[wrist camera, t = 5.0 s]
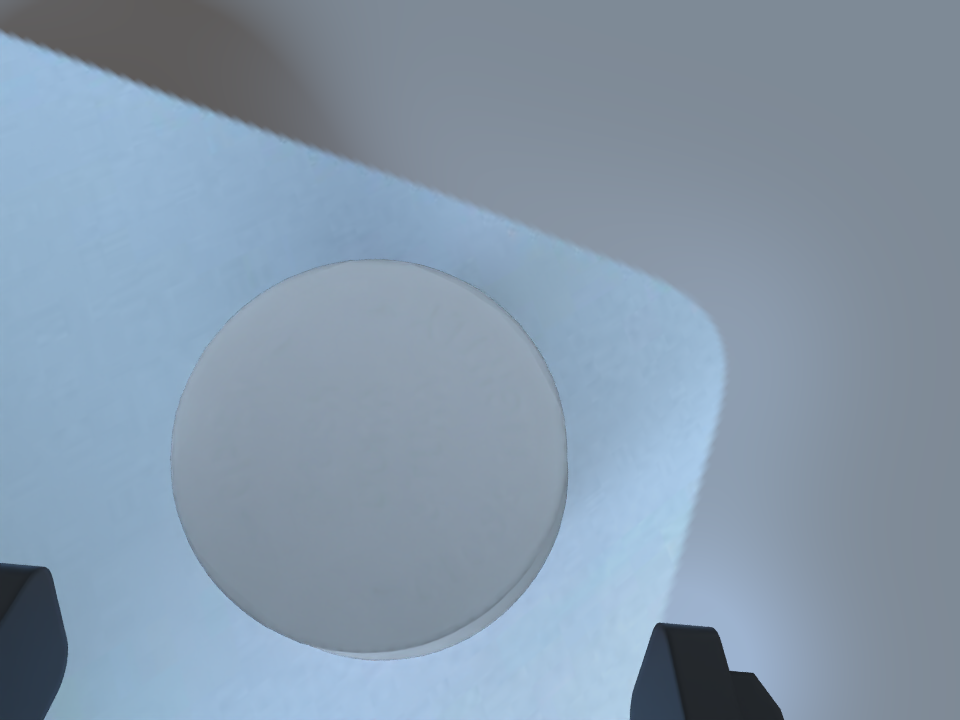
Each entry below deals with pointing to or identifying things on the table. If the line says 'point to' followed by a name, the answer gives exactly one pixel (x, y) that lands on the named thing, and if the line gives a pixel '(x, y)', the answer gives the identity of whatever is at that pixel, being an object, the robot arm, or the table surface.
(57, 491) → the table surface
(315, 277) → the pill bottle
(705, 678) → the robot arm
